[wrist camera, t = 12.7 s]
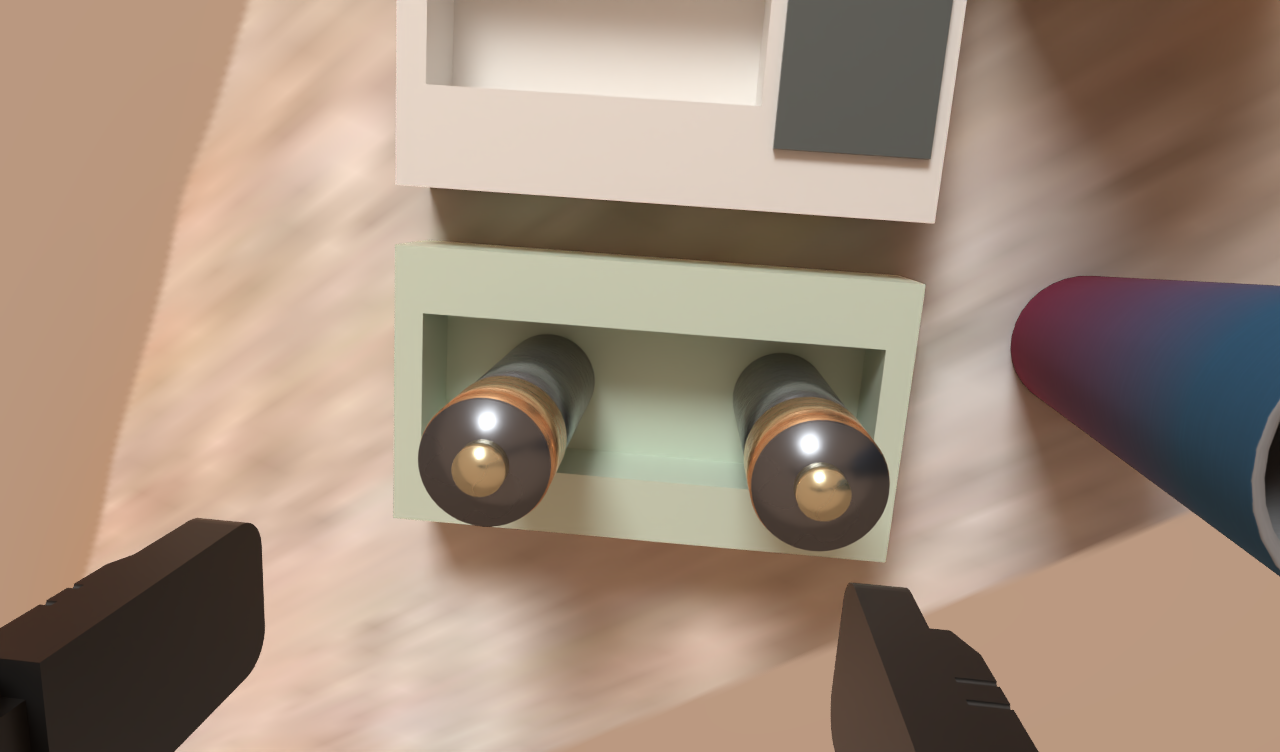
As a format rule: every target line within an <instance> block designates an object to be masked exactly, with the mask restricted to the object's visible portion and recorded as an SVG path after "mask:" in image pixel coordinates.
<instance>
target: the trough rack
mask: <svg viewBox="0 0 1280 752" xmlns="http://www.w3.org/2000/svg"><path fill="white" fill-rule="evenodd" d="M925 287H926V284H923V283H920V282H917V281H914V280H911V279H908V278H905V277H902V276H899V275H889V274H875V273H862V272H849V271H835V270H822V269H809V268H795V267H782V266H769V265H755V264H742V263H728V262H715V261H702V260H688V259H675V258H662V257H648V256H635V255H622V254H608V253H595V252H582V251H568V250H555V249H542V248H528V247H515V246H502V245H488V244H475V243H461V242H448V241H435V240H425V241H417V242H410V243H403V244H395V335H394V498H393V518H400V519H411V520H422V521H433V522H444V523H455V524H466V525H471V524H467V523H464V522H462V521H460V520H457V519H455V518H454V517H452V516H450V515H449V514H447V513H446V512H445V511H443V510H442V509H441V508H440V507H439V506H438V505H437V504H436V503H435V502H434V501H433V500H432V498H431V497H430V495H429V494H428V492H427V491H426V489H425V487H424V485H423V482H422V480H421V477H420V472H419V468H418V450H419V446H420V441H421V438H422V435H423V432H424V430H425V428H426V427H427V425H428V423H429V422H430V421H431V419H432V418H433V417H434V416H435V415H436V414H437V413H438V412H439V411H440V410H441V409H442V408H443V407H444V406H446V405H447V404H448V403H449V402H450V401H451V400H453V399H454V398H455V397H456V396H457V395H458V394H460V393H461V392H462V391H463V390H464V389H466V388H467V387H468V386H469V385H471V384H473V383H475V382H476V381H477V380H478V379H479V378H480V377H482V376H483V375H484V374H485V373H486V372H487V371H488V370H490V369H491V368H492V367H493V366H494V365H495V364H496V363H498V362H499V361H500V360H501V359H502V358H503V357H504V356H506V355H507V354H508V353H509V352H510V351H511V350H513V349H514V348H515V347H516V346H517V345H518V344H520V343H521V342H522V341H524V340H526V339H528V338H530V337H532V336H536V335H542V334H552V335H558V336H562V337H564V338H567V339H569V340H571V341H572V342H574V343H575V344H577V345H578V346H579V347H580V348H581V349H582V350H583V351H584V352H585V354H586V355H587V356H588V358H589V360H590V362H591V364H592V367H593V371H594V376H595V385H594V391H593V395H592V397H591V400H590V402H589V404H588V406H587V408H586V410H585V412H584V414H583V416H582V418H581V420H580V422H579V424H578V426H577V428H576V430H575V432H574V434H573V436H572V438H571V440H570V442H569V444H568V446H567V448H566V450H565V453H564V457H563V459H562V462H561V464H560V466H559V468H558V470H557V472H556V474H555V476H554V478H553V480H552V482H551V484H550V486H549V488H548V490H547V492H546V494H545V496H544V497H543V499H542V500H541V501H540V503H539V504H538V505H537V506H536V507H535V508H534V509H533V510H532V511H531V512H529V513H528V514H527V515H525V516H524V517H522V518H520V519H518V520H516V521H514V522H511V523H509V524H505V525H501V526H493V527H499V528H510V529H521V530H532V531H543V532H554V533H565V534H576V535H587V536H598V537H609V538H620V539H631V540H642V541H653V542H664V543H675V544H686V545H697V546H708V547H719V548H730V549H741V550H752V551H763V552H774V553H785V554H796V555H807V556H818V557H829V558H840V559H851V560H862V561H873V562H884V563H886V556H887V549H888V542H889V535H890V529H891V522H892V515H893V508H894V501H895V494H896V487H897V480H898V473H899V466H900V459H901V453H902V446H903V439H904V432H905V425H906V418H907V411H908V404H909V397H910V390H911V383H912V376H913V370H914V363H915V356H916V349H917V342H918V335H919V328H920V321H921V314H922V307H923V300H924V293H925ZM773 353H788V354H793V355H797V356H799V357H801V358H803V359H805V360H807V361H808V362H810V363H811V364H812V365H813V366H814V367H815V368H816V369H817V370H818V372H819V373H820V374H821V375H822V377H823V378H824V379H825V381H826V382H827V383H828V385H829V386H830V387H831V389H832V390H833V391H834V392H835V394H836V395H837V396H838V398H839V399H840V400H841V402H842V403H843V404H844V406H845V407H846V408H847V409H848V411H849V412H851V413H852V414H853V415H854V416H855V417H856V418H857V420H858V421H859V422H860V424H861V425H862V426H863V427H864V429H865V430H866V431H867V433H868V434H869V435H870V436H871V438H872V439H873V440H874V442H875V443H876V444H877V446H878V447H879V448H880V450H881V452H882V454H883V455H884V457H885V460H886V463H887V466H888V470H889V478H890V488H889V497H888V501H887V504H886V507H885V510H884V512H883V514H882V516H881V518H880V519H879V520H878V522H877V523H876V525H875V526H874V527H873V528H872V529H871V530H870V531H869V532H868V533H867V534H866V535H865V536H863V537H862V538H861V539H859V540H857V541H856V542H854V543H852V544H850V545H848V546H845V547H842V548H839V549H835V550H831V551H808V550H803V549H799V548H796V547H793V546H791V545H788V544H786V543H785V542H783V541H781V540H779V539H778V538H777V537H776V536H774V535H773V534H772V533H771V532H770V531H769V530H768V529H767V528H766V527H765V526H764V525H763V524H762V522H761V521H760V520H759V518H758V516H757V515H756V513H755V510H754V508H753V505H752V502H751V498H750V493H749V488H748V483H747V479H746V474H745V469H744V456H743V451H742V446H741V441H740V437H739V432H738V427H737V422H736V418H735V413H734V408H733V391H734V387H735V384H736V381H737V379H738V377H739V376H740V374H741V373H742V371H743V370H744V369H745V368H746V367H747V366H748V365H749V364H750V363H752V362H753V361H754V360H756V359H758V358H760V357H762V356H765V355H769V354H773Z"/></svg>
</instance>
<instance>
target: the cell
mask: <svg viewBox="0 0 1280 752" xmlns="http://www.w3.org/2000/svg"><path fill="white" fill-rule="evenodd" d="M594 385H595V376H594V371H593V367H592V364H591V362H590V360H589V358H588V356H587V355H586V354H585V352H584V351H583V350H582V349H581V348H580V347H579V346H578V345H577V344H575V343H574V342H572V341H571V340H569V339H567V338H564V337H562V336H558V335H552V334H542V335H536V336H532V337H530V338H528V339H526V340H524V341H522V342H521V343H520V344H518V345H517V346H516V347H515V348H514V349H513V350H511V351H510V352H509V353H508V354H507V355H506V356H504V357H503V358H502V359H501V360H500V361H499V362H498V363H496V364H495V365H494V366H493V367H492V368H491V369H490V370H488V371H487V372H486V373H485V374H484V375H483V376H482V377H480V378H479V379H478V380H477V381H476V382H475V383H473V384H471V385H469V386H468V387H467V388H466V389H464V390H463V391H462V392H461V393H460V394H458V395H457V396H456V397H455V398H454V399H453V400H451V401H450V402H449V403H448V404H447V405H446V406H444V407H443V408H442V409H441V410H440V411H439V412H438V413H437V414H436V415H435V416H434V417H433V418H432V419H431V421H430V422H429V423H428V425H427V427H426V428H425V430H424V432H423V435H422V438H421V441H420V446H419V450H418V468H419V472H420V477H421V480H422V482H423V485H424V487H425V489H426V491H427V492H428V494H429V495H430V497H431V498H432V500H433V501H434V502H435V503H436V504H437V505H438V506H439V507H440V508H441V509H442V510H443V511H445V512H446V513H447V514H449V515H450V516H452V517H454V518H455V519H457V520H460V521H462V522H464V523H467V524H471V525H475V526H482V527H493V526H501V525H505V524H509V523H511V522H514V521H516V520H518V519H520V518H522V517H524V516H525V515H527V514H528V513H529V512H531V511H532V510H533V509H534V508H535V507H536V506H537V505H538V504H539V503H540V501H541V500H542V499H543V497H544V496H545V494H546V492H547V490H548V488H549V486H550V484H551V482H552V480H553V478H554V476H555V474H556V472H557V470H558V468H559V466H560V464H561V462H562V459H563V457H564V453H565V450H566V448H567V446H568V444H569V442H570V440H571V438H572V436H573V434H574V432H575V430H576V428H577V426H578V424H579V422H580V420H581V418H582V416H583V414H584V412H585V410H586V408H587V406H588V404H589V402H590V400H591V397H592V395H593V391H594Z"/></svg>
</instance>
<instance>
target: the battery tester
mask: <svg viewBox="0 0 1280 752" xmlns="http://www.w3.org/2000/svg"><path fill="white" fill-rule="evenodd" d="M966 3H967V0H397V9H396V172H395V185H405V186H419V187H433V188H447V189H461V190H475V191H489V192H502V193H516V194H530V195H544V196H558V197H572V198H586V199H600V200H614V201H628V202H641V203H655V204H669V205H683V206H697V207H711V208H725V209H739V210H753V211H767V212H781V213H794V214H808V215H822V216H836V217H850V218H864V219H878V220H892V221H906V222H920V223H933V224H935V217H936V211H937V204H938V197H939V190H940V183H941V176H942V169H943V162H944V155H945V148H946V141H947V134H948V128H949V121H950V114H951V107H952V100H953V93H954V86H955V79H956V72H957V65H958V58H959V52H960V45H961V38H962V31H963V24H964V17H965V10H966Z"/></svg>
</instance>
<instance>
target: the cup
mask: <svg viewBox="0 0 1280 752" xmlns="http://www.w3.org/2000/svg"><path fill="white" fill-rule="evenodd" d="M1011 355H1012V362H1013V365H1014V368H1015V371H1016V373H1017V375H1018V377H1019V378H1020V380H1021V381H1022V383H1023V384H1024V385H1025V386H1026V387H1027V388H1028V389H1029V391H1030V392H1032V393H1033V394H1034V395H1036V396H1037V397H1038V398H1040V399H1041V400H1042V401H1044V402H1045V403H1046V404H1048V405H1049V406H1050V407H1052V408H1053V409H1054V410H1056V411H1057V412H1059V413H1060V414H1061V415H1063V416H1064V417H1065V418H1067V419H1068V420H1069V421H1071V422H1072V423H1073V424H1075V425H1076V426H1077V427H1079V428H1080V429H1081V430H1083V431H1084V432H1086V433H1087V434H1088V435H1090V436H1091V437H1092V438H1094V439H1095V440H1096V441H1098V442H1099V443H1100V444H1102V445H1103V446H1104V447H1106V448H1107V449H1108V450H1110V451H1111V452H1113V453H1114V454H1115V455H1117V456H1118V457H1119V458H1121V459H1122V460H1123V461H1125V462H1126V463H1127V464H1129V465H1130V466H1131V467H1133V468H1134V469H1135V470H1137V471H1138V472H1140V473H1141V474H1142V475H1144V476H1145V477H1146V478H1148V479H1149V480H1150V481H1152V482H1153V483H1154V484H1156V485H1157V486H1158V487H1160V488H1161V489H1163V490H1164V491H1165V492H1167V493H1168V494H1169V495H1171V496H1172V497H1173V498H1175V499H1176V500H1177V501H1179V502H1180V503H1181V504H1183V505H1184V506H1185V507H1187V508H1188V509H1190V510H1191V511H1192V512H1194V513H1195V514H1196V515H1198V516H1199V517H1200V518H1202V519H1203V520H1205V521H1206V522H1207V523H1208V524H1210V525H1211V526H1212V527H1214V528H1215V529H1217V530H1218V531H1219V532H1221V533H1222V534H1223V535H1225V536H1226V537H1227V538H1229V539H1230V540H1231V541H1233V542H1234V543H1235V544H1237V545H1238V546H1240V547H1241V548H1243V549H1244V550H1245V551H1246V552H1248V553H1249V554H1250V555H1252V556H1253V557H1255V558H1256V559H1257V560H1258V561H1260V562H1261V563H1263V564H1264V565H1265V566H1266V567H1268V568H1269V569H1271V570H1272V571H1273V572H1275V573H1276V574H1277V575H1279V576H1280V286H1274V285H1254V284H1235V283H1216V282H1197V281H1178V280H1158V279H1139V278H1120V277H1101V276H1078V277H1072V278H1067V279H1064V280H1061V281H1059V282H1056V283H1053V284H1052V285H1050V286H1048V287H1047V288H1045V289H1043V290H1042V291H1040V292H1039V293H1038V294H1037V295H1036V296H1035V297H1034V298H1032V299H1031V300H1030V301H1029V303H1028V304H1027V305H1026V307H1025V308H1024V309H1023V310H1022V312H1021V314H1020V316H1019V318H1018V320H1017V322H1016V324H1015V327H1014V330H1013V334H1012V341H1011Z"/></svg>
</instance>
